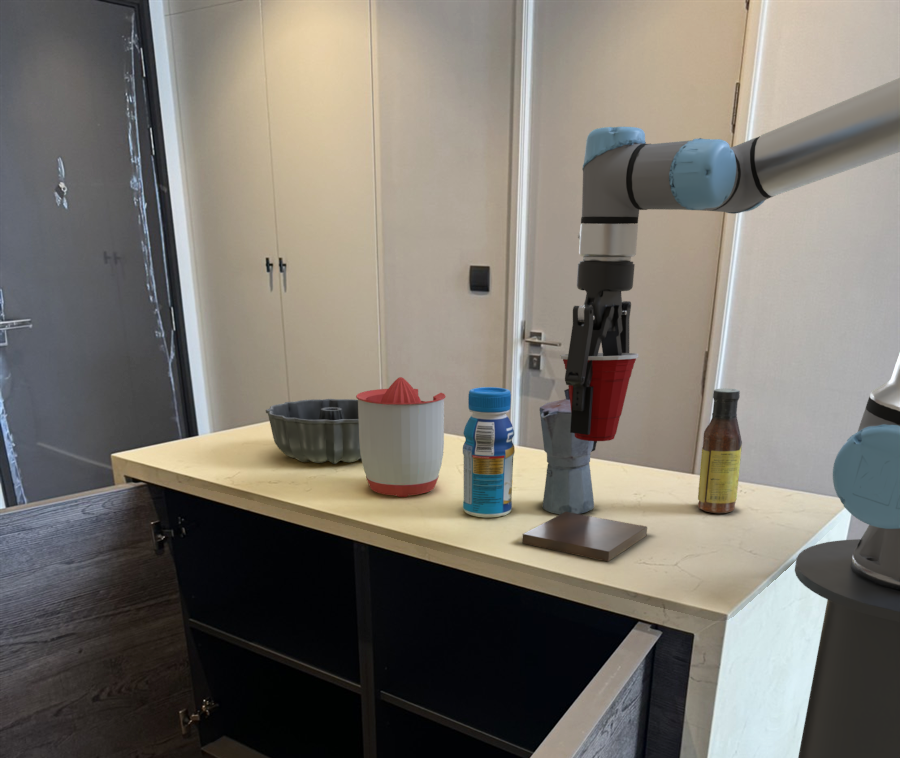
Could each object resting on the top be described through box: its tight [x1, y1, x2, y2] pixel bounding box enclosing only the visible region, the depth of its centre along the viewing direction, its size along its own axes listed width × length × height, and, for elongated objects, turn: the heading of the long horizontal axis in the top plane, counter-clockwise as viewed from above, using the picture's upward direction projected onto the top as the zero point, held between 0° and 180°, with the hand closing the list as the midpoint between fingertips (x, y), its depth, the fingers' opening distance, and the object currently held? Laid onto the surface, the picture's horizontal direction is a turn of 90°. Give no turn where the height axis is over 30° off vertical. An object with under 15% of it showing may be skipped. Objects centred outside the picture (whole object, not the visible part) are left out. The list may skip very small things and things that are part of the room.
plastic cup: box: [559, 352, 639, 442], centre depth 122 cm, size 11×11×12 cm
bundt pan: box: [265, 398, 362, 465], centre depth 179 cm, size 26×26×10 cm
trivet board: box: [521, 512, 648, 562], centre depth 131 cm, size 14×14×2 cm
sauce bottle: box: [697, 387, 743, 514], centre depth 142 cm, size 7×6×20 cm
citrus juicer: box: [355, 376, 446, 498], centre depth 154 cm, size 16×17×20 cm
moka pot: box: [539, 388, 598, 515], centre depth 143 cm, size 10×15×20 cm, turn 137°
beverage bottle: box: [462, 386, 515, 519], centre depth 140 cm, size 8×8×20 cm
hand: (594, 427), depth 124 cm, fingers closed on plastic cup, 9 cm apart
